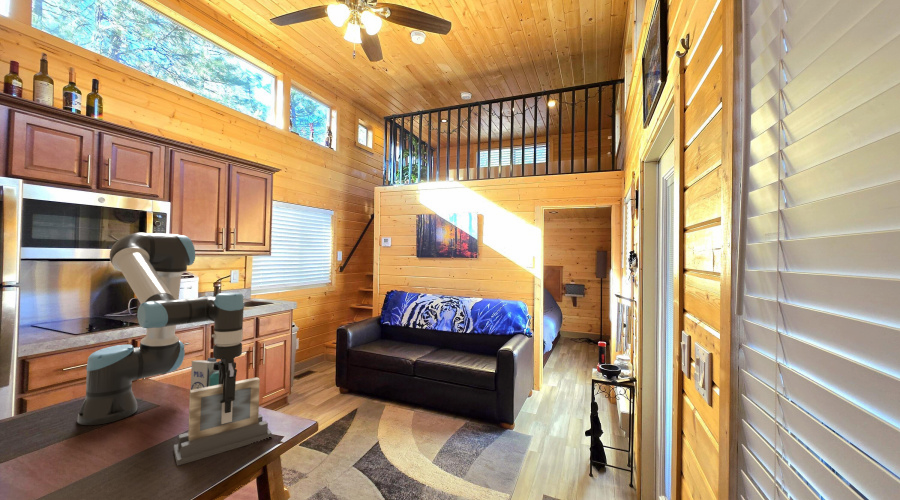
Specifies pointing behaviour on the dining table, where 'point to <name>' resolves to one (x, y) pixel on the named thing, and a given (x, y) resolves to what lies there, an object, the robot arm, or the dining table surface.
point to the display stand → (219, 442)
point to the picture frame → (209, 408)
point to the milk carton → (202, 373)
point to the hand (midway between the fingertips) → (225, 420)
